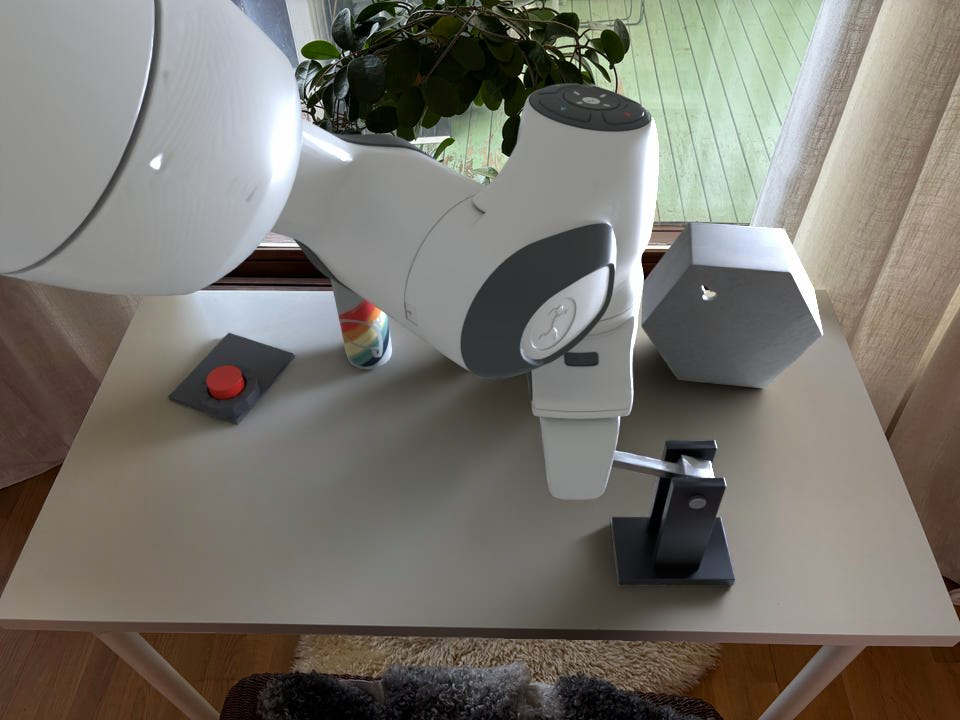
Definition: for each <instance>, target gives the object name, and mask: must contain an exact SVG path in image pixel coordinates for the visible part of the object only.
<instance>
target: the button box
mask: <svg viewBox="0 0 960 720" xmlns="http://www.w3.org/2000/svg"><path fill="white" fill-rule="evenodd" d="M295 358H296V357H295V353H294V352H291V351H288V350H285V349H282V348H278V347H277V346H276V347H275V346H272V345H269V344H266V343H263V342H260V341H257V340H253V339H250V338H247V337H245V336H241V335H238V334H235V333H231V332H228V333H227V334H226V335H225V336H224V337H223V338H222V339H221V340H219V342H218V343H217V344H216V345H215V346H214V347H213V348H212V349H211V350H210V351H209V352H208V353H207V355H205V357H204V358H202V360H201V361H200V362H199V363H198V364H197V365H196V366H195V367H194V368H193V369H192V370H191V371H190V372H189V373H188V375H186V377H185V378H184V379H183V380H182V381H181V382H180V383H179V384H178V385H177V386H176V387H175V388H174V389H173V390H172V391H171V393H169V394H168V396H167V398H168V400H169V401H171V402H174V403H177V404H180V405H182V406H185V407H188V408H191V409H194V410H195V411H198V412H201V413H204V414H206V415H208V416H211V417H214V418H217V419H221V420H224V421H226V422H229V423H232V424H234V425H239V424H240V422H241V421H242V420H243V419H244V418H245V417H246V415H247V414H248V413H249V412H250V411H251V410H252V408H253V407H254V406H255V405H256V404H257V403H258V401H259V400H260V399H261V398H262V397H263V395H265V394H266V392H267V391H268V389H269V388H270V387H271V386H272V385H273V384H274V382H275V381H276V380H277V379H278V378H279V376H280V375H281V374H282V373H283V372H284V370H286V369H287V367H288V366H289V365H290V364H291V362H292V361H293V360H294V359H295ZM228 365H229V366H234V367H237V368H238V369H239V370H240V371H241V374H242V377H243V379H244V382H245V387H244V390H243V391H242V392H241V393H240V394H239V395H238V396H236V397H234V398H232V399H229V400H218V399H215V398H214V397H213V396H212V395H211V393H210V391H209V388H208V386H207V383H206V380H207V377H208V375H209V374H210V373H211V372H212V371H213V370H214V369H216V368H218V367H221V366H228Z"/></svg>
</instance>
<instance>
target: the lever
mask: <svg viewBox="0 0 960 720" xmlns="http://www.w3.org/2000/svg"><path fill="white" fill-rule="evenodd" d="M611 468H614V469H620V470H624V471H628V472H629V471H630V472H633V473H639V474H643V475H648V476H652V477H656V478H657V477H662V478H667V479H671V480H672V478H715V476H714V471H713V468H712V467H711V463H710V461H709V460H704V459H700V458H695V457H691V456H686V455H681V456H680V457H679V459H678V460H677V461H676V462H675V463H671V462H666V461H662V460H661V459H656V458H652V457H648V456H643V455H637V454H633V453H630V452H629V453H628V452H624V451H619V450H615V454H614V459H613V463H612V467H611Z"/></svg>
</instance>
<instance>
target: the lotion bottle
mask: <svg viewBox="0 0 960 720" xmlns="http://www.w3.org/2000/svg"><path fill="white" fill-rule="evenodd" d="M330 283H331V287H332V292H333V297H334V303H335V307H336V311H337V316H338V321H339V325H340V330H341V336H342V341H343V344H344V350H345V353H346V357H347V360H348V362H349V363H350V364H351V365H352V367H353V366H354V367H355V368H357V369H360V370H374V369H377V368H380V367H382V366H384V365H385V364H386V363H387V362H388V361H389V360H390V359H391V357H392V353H393V346H392V341H391V340H392V339H391V331H390V325H389V318H388V315H387V314H385V313H384V312H382V311H381V310H380V309H378V308H377V307H375V306H374V305H372V304H371V303H370V302H368V301H367V300H365V299H364V298H362V297H361V296H360V295H358V294H356V293H354V292H352V291H350V290H348V289H346V288H345V287H343V286H341V285H340V284H338V283H337V282H335V281H333V280H332V279H330Z"/></svg>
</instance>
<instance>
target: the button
mask: <svg viewBox="0 0 960 720" xmlns="http://www.w3.org/2000/svg"><path fill="white" fill-rule="evenodd" d="M206 383H207V386H208V388H209V391H210V393H211V395H212V396H213V397H214V398H215V399H218V400H229V399H232V398H234V397H236V396H238V395H239V394H240V393H241V392H242V391H243V390H244V387H245V382H244V379H243V377H242V374H241V371H240V370H239V369H238V368H237V367H234V366H229V365H228V366H221V367H218V368H216V369H214V370H213V371H212V372H211V373H210V374H209V375H208V377H207V380H206Z"/></svg>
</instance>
